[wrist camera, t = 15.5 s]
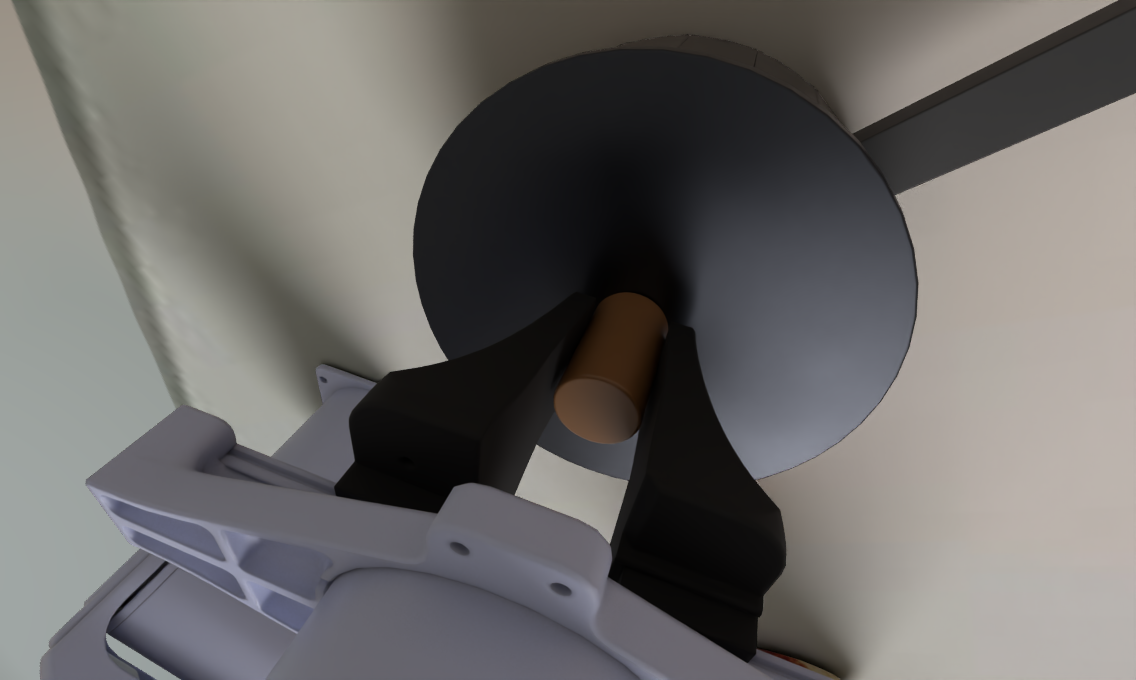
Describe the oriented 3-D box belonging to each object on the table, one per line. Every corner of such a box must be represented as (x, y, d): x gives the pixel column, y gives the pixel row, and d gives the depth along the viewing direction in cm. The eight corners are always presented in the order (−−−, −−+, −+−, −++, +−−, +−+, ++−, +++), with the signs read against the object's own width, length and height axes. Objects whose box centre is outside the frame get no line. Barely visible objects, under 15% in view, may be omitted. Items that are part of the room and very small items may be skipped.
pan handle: (855, 197, 16) (859, 210, 15) (831, 143, 15) (834, 154, 14) (1338, -14, 11) (1381, -11, 10) (1331, -108, 10) (1377, -112, 9)
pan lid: (777, 513, 20) (776, 646, 16) (433, 390, 22) (361, 484, 18) (1056, 126, 11) (1200, 227, 7) (424, -19, 13) (278, 0, 9)
